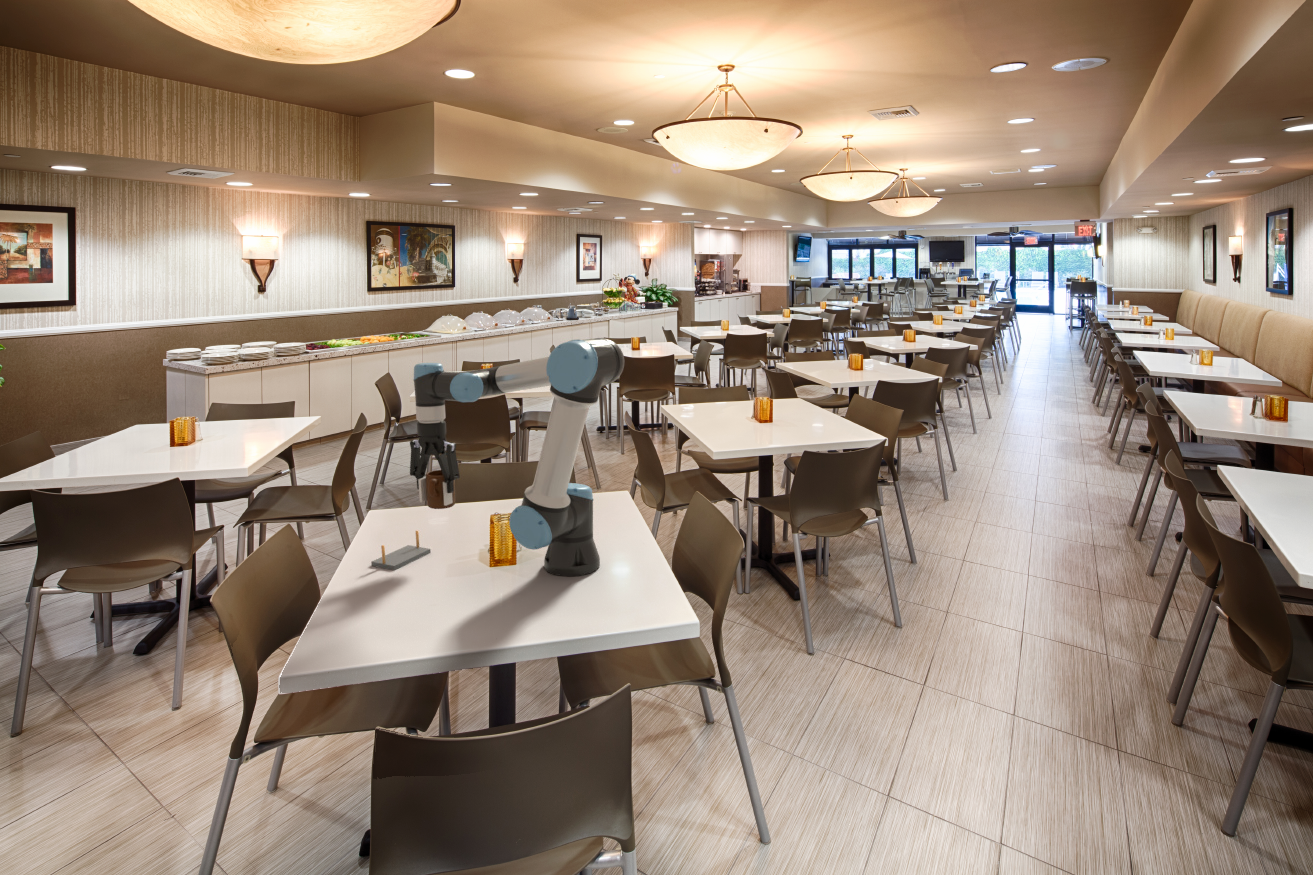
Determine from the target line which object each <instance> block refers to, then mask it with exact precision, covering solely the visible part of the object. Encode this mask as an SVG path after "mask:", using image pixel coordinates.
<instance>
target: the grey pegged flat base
mask: <svg viewBox="0 0 1313 875" xmlns="http://www.w3.org/2000/svg"><path fill="white" fill-rule="evenodd" d="M419 534H420V531H419V530H415V544H416V546H415V545H409V544H408V545H406V546H403V547H401V548H399V549H397V550H395V551H392V552H390V553H388V554H386V550H385V547H386V546H385V545H384V544H382V545H381V546H380V547H381V557H379V558H376V559H374V560H372V561H371V567H377V568H380V569H387V570H392V571H396V570H398V569H400V568H403V567H405V566H406V565H408V564H411V563H412V562H415V561H417V560H419V559H422V558H423V557H425V556H428V555H429V554H431V553H432V552H431V548H428V547H427V548H426V547H422V546H420V536H419Z"/></svg>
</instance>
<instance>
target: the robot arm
mask: <svg viewBox="0 0 1313 875" xmlns="http://www.w3.org/2000/svg"><path fill="white" fill-rule="evenodd" d="M624 367H625V356H624V352H623V351H622V349H621V347H620V346H619V345H618V344H617V343H616V342H615V341H614V340H611V339H608V338H603V337H597V338H589V339H572V340H569V341H566V342H562V343H560V344H559V345H557V346H555V347H554V348H553V350H552V351H551V352H550V354H549V356H546V357H540V358H535V359H531V360H529V359H528V360H524V361H518V362H514V363H510V364H504V365H498V366H494V367H488V368H487V367H486V368H481V369H472V370H465V371H456V372H455V371H450V372H449V371H444V366H443V364H442V363H440V362H422V363H421V362H420V363H417V364H415V365H414V366H413V379H412V380H413V388H414V397H415V398H414V399H415V418H416V419H415V420H417V421H418V422H416V431H417V432H416V433H417V435H418V436H419V437H418V439H417V438H416V439H413V440H410V441H409V446H410V461H409V462H410V463H409V464H410V465H409V474H410V476H411V477H412V476H413V477H415V479H416V488H417V490H418V492H419V496H418V497H419V503H424V502H427V493H426V473H427V472H426V471H427V468H428V464H429V463H430V462H429V461H430V458H431V456H434V458H435V459H436V461H437V463H438V465H439V468H440V470H441V471H442V473H443V476H444V478H445V481H444V482H443V495H444V505H446V506H447V505H449V504H452V503H453V500H452V492H454V480H455V481H456V480H458V479H460V477H461V476H460V469H459V464H458V458H457V453H456V448H457V443H455V442H452V443H451V442H448V440H447V438H446V435H447V422H446V420H445V419H446V401H449V402H450V401H452V402H460V403H474V402H476V401H478V400H479V399H481V398H484V397H489V396H498V395H502V394H509V393H513V392H519V391H525V390H533V389H538V388H545V387H549V391H550V393H551V394H552V396H553V398H554V399H553V402H552V407H551V411H550V414H549V418H548V422H547V428H546V431H545V436H544V438H543V441H542V442H543V443H542V446H541V451H540V455H539V459H538V463H537V466H536V472H535V475H534V480H533V482H532V485H530V486H528V487H526V488H525V490H524V494H523V499H522V501H521V505H518V506H517V507H515V508H513V510H512V512H511V513H510V516H509V521H508V522H509V524H508V525H509V530H510V532H511V534H513V538H514V539H515V540H516V541H517V543H518V544H519V545H521V546H522V547H524V548H526V549H528V550H539V549H542V548H546V547H547V550H546V553H545V555H544V559H543V562H544V563H543V566H544V570H545V571H546V572H548V573H549V574H552V575H556V576H560V577H561V576H562V577H575V576H577V577H578V576H583V575H587V574H591V573H593V571H594V570H595V571H597V570H598V569H599V568H600V567H599V566H601V564H600V562H601V557H600V553H599V552H598V548H597V546H596V542H595V540H594V498H593V490H592V488H591V487H590V486H588V485H587V484H584V483H583V484H581V483H574V482H573V483H572V482H570V480H571V477H572V474H573V468H574V465H575V461H576V460H577V459H576V458H577V455H578V450H579V448H580V443H581V440H582V436H583V432H584V428H585V424H586V422H587V421H586V420H587V416H588V413H589V409H590V407H591V406H594V405H596V404H597V402H598V401H599V397H600V393H601V390H602V387H603V386H607V385H611V384H612V383H613V382H615V381H616V380H618V379H619V378H620V376H621V375H622V373H623V371H624ZM597 568H598V569H597ZM596 569H597V570H596ZM595 571H594V572H595Z"/></svg>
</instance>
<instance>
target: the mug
mask: <svg viewBox="0 0 1313 875" xmlns="http://www.w3.org/2000/svg"><path fill="white" fill-rule="evenodd" d="M425 475H426V476H425V477H426V493H427V501H426V504H427V507H428V508H430V509H432V510H433V509H434V510H444V509H450V508H452V507H454V506H455V505H456V487H455V486H456V484H455V482H456V479H455V480H454V492H452V500H453V503H452V504H449V505H447V506H446V505H444V495H443V482H444V481H445V478H444V476H443V473H442V471H441V469H436V470H431V471H427V472H425Z"/></svg>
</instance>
